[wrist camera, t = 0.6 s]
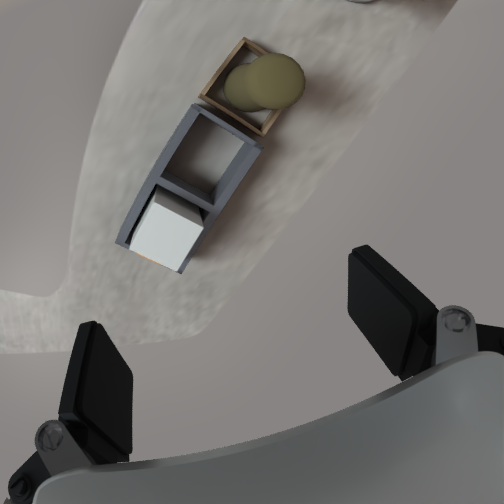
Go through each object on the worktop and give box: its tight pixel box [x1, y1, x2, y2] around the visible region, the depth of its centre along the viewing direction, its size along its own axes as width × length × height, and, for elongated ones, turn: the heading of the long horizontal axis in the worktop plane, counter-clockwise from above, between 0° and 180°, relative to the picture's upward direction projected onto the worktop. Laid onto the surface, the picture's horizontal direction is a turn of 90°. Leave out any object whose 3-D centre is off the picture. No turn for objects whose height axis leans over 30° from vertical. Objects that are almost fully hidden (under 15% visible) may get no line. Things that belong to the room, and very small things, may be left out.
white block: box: [129, 184, 204, 272], centre depth 32 cm, size 6×6×7 cm
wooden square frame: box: [198, 37, 284, 137], centre depth 30 cm, size 8×8×2 cm
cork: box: [223, 53, 305, 112], centre depth 26 cm, size 6×6×11 cm
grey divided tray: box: [115, 103, 264, 274], centre depth 32 cm, size 17×9×4 cm, turn 145°
